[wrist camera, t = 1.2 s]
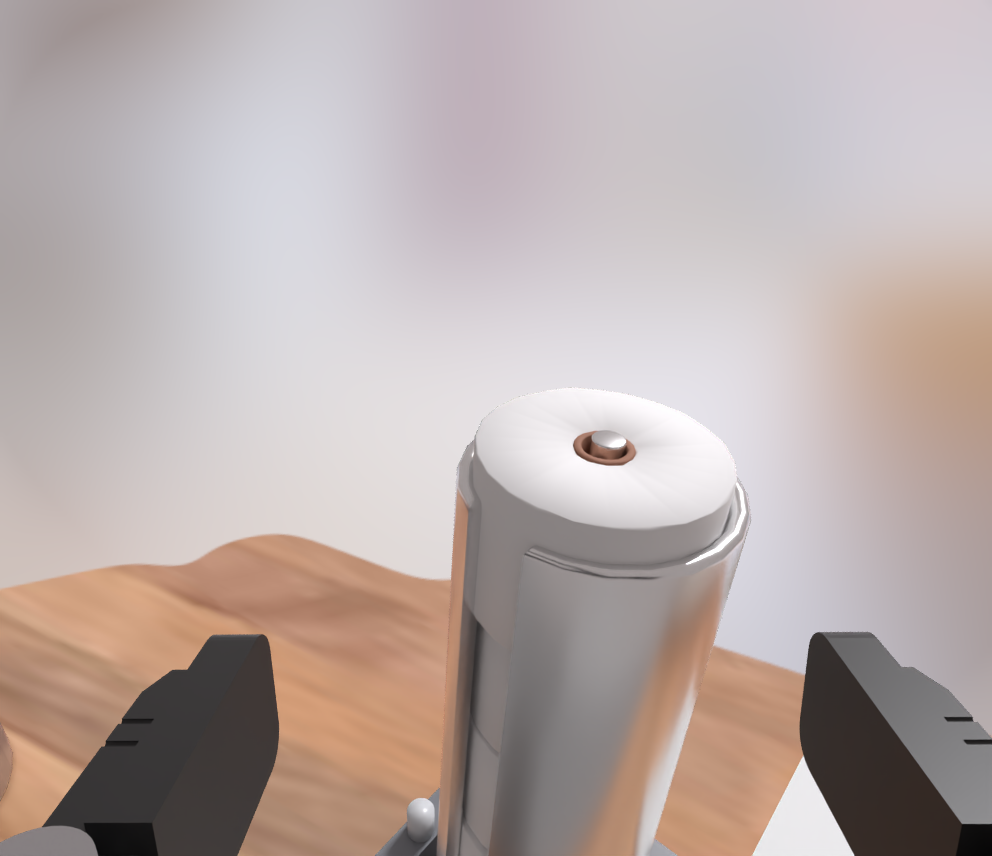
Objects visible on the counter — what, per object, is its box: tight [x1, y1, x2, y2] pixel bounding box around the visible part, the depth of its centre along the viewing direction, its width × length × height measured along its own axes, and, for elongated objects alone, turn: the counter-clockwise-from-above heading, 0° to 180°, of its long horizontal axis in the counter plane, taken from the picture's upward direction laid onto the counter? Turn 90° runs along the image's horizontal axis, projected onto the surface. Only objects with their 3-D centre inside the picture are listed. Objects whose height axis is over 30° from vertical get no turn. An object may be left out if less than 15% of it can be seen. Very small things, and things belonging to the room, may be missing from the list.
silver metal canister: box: [436, 387, 751, 856], centre depth 23 cm, size 6×6×25 cm
